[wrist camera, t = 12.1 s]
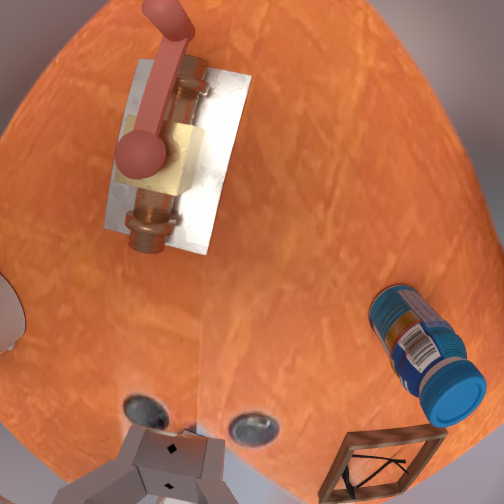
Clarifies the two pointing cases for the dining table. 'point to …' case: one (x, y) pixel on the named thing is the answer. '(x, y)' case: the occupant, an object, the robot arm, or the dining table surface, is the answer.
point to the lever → (155, 92)
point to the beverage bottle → (427, 355)
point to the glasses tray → (377, 440)
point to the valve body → (180, 160)
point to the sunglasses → (351, 489)
